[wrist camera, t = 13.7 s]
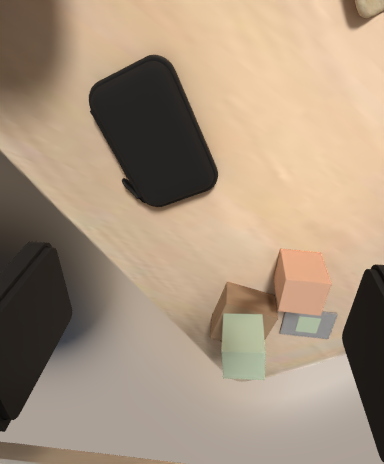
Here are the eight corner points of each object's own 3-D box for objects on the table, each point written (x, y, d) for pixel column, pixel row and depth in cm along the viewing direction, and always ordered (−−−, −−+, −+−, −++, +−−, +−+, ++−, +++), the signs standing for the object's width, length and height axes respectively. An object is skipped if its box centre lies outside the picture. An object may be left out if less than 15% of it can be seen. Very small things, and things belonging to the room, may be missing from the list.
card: (336, 313, 48) (337, 315, 47) (327, 337, 50) (328, 339, 50) (285, 307, 48) (286, 310, 48) (279, 331, 51) (280, 334, 51)
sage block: (262, 314, 44) (265, 353, 39) (261, 340, 46) (264, 380, 41) (223, 313, 44) (221, 351, 39) (224, 339, 47) (223, 378, 42)
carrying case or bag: (78, 92, 36) (144, 207, 42) (66, 98, 33) (138, 219, 40) (168, 45, 32) (224, 178, 39) (162, 48, 30) (223, 190, 37)
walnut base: (275, 294, 47) (278, 318, 44) (256, 326, 51) (257, 351, 48) (227, 280, 47) (226, 303, 43) (212, 313, 51) (210, 337, 47)
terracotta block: (320, 252, 43) (331, 284, 38) (311, 282, 45) (320, 315, 40) (280, 248, 43) (286, 279, 38) (273, 278, 46) (278, 311, 41)
